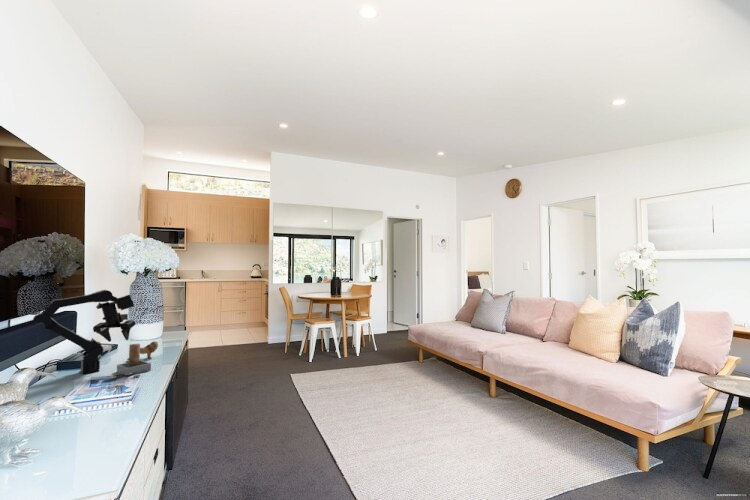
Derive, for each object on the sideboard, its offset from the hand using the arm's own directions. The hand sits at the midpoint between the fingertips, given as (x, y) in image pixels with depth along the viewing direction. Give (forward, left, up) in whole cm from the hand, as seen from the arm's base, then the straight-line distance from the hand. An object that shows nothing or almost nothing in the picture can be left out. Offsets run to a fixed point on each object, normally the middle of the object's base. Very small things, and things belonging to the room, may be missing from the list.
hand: (118, 340), depth 187 cm
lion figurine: (+14, +5, -13) cm, 20 cm away
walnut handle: (+1, -17, -12) cm, 21 cm away
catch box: (+1, -17, -13) cm, 21 cm away
